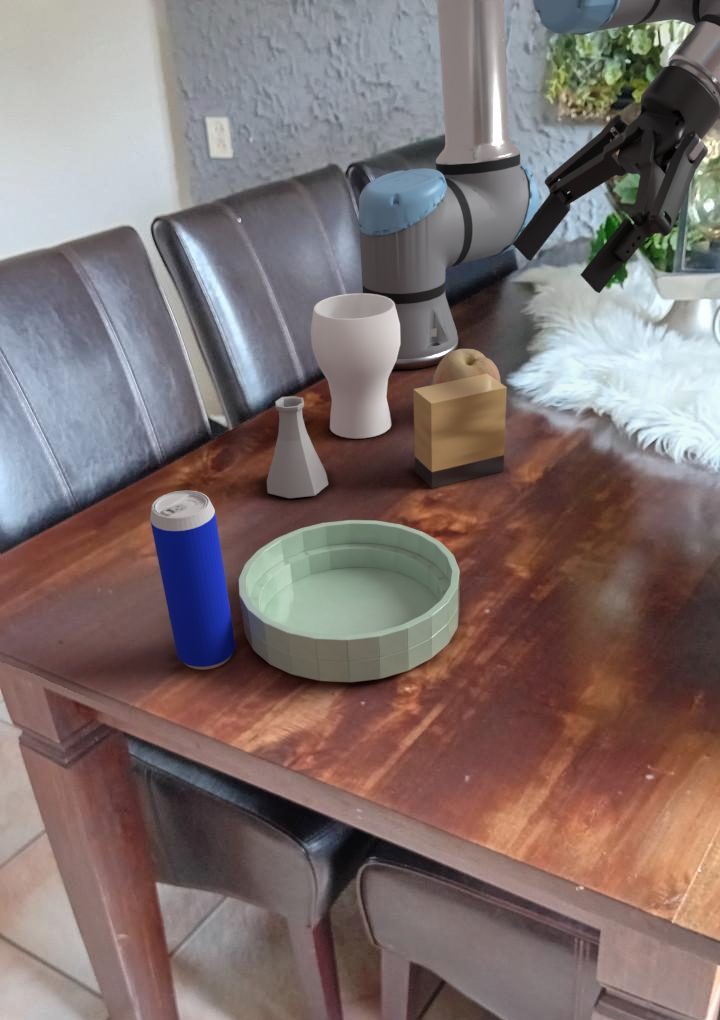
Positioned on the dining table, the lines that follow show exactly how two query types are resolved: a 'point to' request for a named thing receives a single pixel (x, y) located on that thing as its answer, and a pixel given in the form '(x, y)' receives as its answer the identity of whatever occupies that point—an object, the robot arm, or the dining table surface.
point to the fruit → (464, 366)
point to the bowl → (350, 600)
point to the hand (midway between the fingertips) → (553, 267)
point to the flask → (294, 455)
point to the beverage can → (193, 578)
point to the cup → (357, 359)
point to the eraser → (459, 430)
